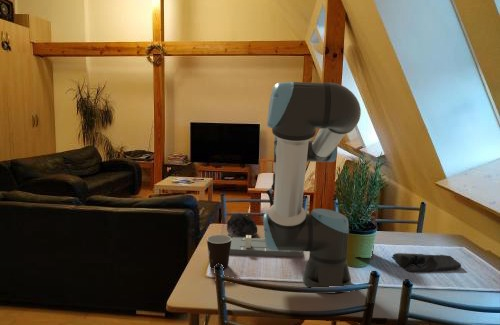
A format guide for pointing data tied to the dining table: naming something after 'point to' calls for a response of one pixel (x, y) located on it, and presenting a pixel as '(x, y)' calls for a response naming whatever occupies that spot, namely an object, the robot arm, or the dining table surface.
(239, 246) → the console
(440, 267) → the dark slate chunk
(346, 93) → the robot arm
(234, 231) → the dark grey rounded lump
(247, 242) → the fader left
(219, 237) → the coffee mug
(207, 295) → the dining table surface
